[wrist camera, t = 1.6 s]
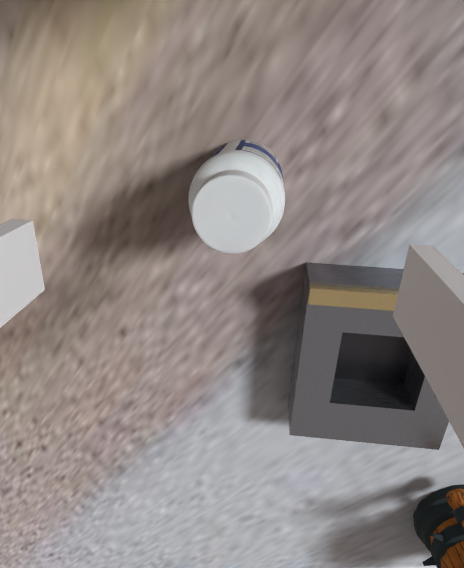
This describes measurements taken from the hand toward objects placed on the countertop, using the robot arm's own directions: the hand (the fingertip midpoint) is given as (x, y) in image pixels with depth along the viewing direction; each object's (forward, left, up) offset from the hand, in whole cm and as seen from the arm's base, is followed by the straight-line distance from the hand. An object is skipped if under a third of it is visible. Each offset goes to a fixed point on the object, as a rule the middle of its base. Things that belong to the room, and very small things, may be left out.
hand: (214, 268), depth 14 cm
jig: (+13, +11, -16) cm, 23 cm away
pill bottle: (0, 0, -16) cm, 16 cm away
